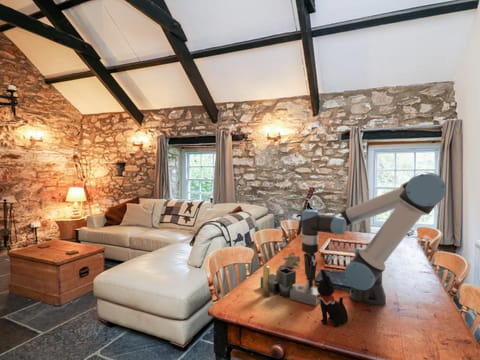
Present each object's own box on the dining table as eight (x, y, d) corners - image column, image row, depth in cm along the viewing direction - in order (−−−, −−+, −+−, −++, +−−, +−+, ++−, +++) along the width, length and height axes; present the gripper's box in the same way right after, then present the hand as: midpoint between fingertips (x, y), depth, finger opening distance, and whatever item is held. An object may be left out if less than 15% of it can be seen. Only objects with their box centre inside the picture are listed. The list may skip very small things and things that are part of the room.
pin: (270, 295, 134) (270, 266, 134) (265, 297, 133) (266, 268, 132) (266, 293, 137) (266, 264, 136) (261, 295, 135) (261, 266, 134)
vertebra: (294, 272, 159) (287, 254, 161) (279, 275, 166) (273, 258, 168) (310, 263, 175) (305, 247, 177) (296, 266, 181) (291, 251, 184)
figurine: (313, 317, 115) (313, 268, 114) (344, 316, 116) (345, 268, 115) (320, 328, 107) (320, 276, 106) (353, 327, 109) (354, 275, 108)
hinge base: (296, 295, 135) (296, 271, 135) (284, 299, 130) (285, 275, 130) (272, 283, 149) (272, 261, 148) (260, 287, 144) (260, 264, 143)
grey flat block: (321, 298, 131) (321, 288, 131) (316, 305, 124) (316, 295, 124) (295, 292, 137) (296, 282, 137) (289, 299, 130) (290, 288, 130)
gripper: (298, 239, 140) (298, 286, 141) (306, 247, 127) (306, 298, 128) (313, 238, 140) (313, 285, 142) (322, 246, 127) (322, 298, 129)
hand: (309, 291), depth 135 cm, fingers closed
